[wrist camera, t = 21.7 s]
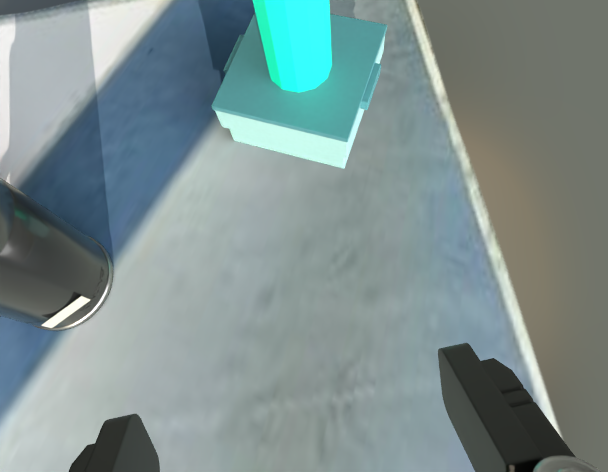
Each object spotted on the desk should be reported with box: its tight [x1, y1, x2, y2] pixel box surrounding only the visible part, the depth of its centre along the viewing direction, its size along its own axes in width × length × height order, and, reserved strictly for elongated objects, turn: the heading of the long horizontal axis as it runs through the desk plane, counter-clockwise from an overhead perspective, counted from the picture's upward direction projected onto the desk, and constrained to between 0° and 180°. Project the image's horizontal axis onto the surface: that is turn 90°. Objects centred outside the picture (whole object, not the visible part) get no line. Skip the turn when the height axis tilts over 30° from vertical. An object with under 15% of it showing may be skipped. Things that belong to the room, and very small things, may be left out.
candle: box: [253, 0, 332, 93], centre depth 38 cm, size 6×6×12 cm
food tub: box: [211, 13, 387, 168], centre depth 47 cm, size 14×13×6 cm
